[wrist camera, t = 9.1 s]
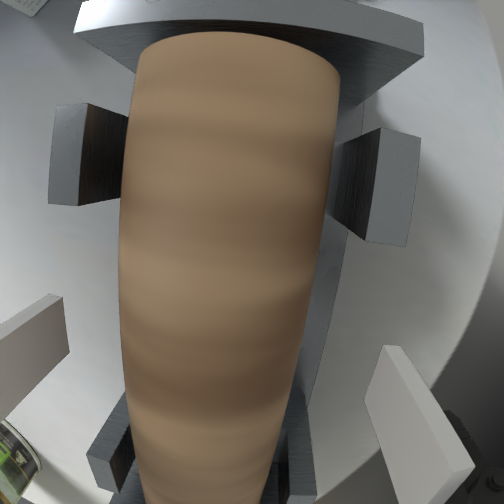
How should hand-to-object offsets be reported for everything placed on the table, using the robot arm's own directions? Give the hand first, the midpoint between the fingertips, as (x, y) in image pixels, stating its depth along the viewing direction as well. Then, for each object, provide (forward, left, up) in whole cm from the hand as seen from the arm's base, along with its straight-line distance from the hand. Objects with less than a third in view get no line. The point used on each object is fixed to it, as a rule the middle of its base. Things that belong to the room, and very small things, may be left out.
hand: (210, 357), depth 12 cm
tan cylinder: (0, 0, -2) cm, 2 cm away
